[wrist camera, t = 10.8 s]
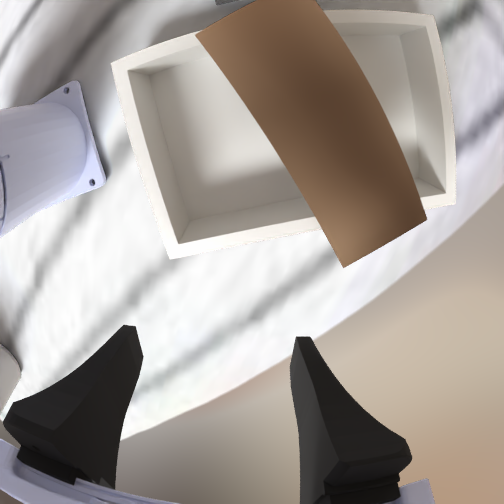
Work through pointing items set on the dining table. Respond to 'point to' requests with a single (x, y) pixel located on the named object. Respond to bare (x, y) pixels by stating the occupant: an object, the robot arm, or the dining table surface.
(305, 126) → the wooden block
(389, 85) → the bin
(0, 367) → the can
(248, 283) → the dining table surface
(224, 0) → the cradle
